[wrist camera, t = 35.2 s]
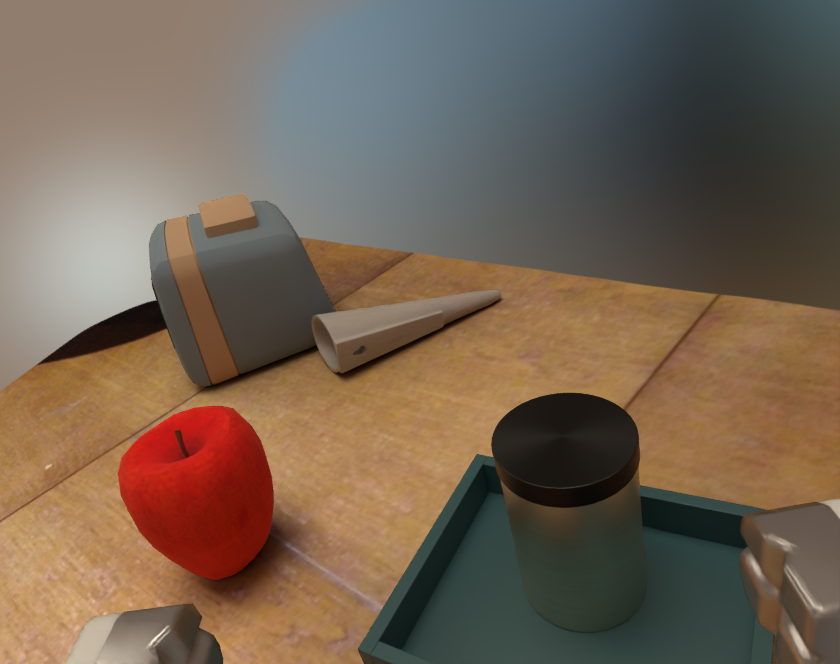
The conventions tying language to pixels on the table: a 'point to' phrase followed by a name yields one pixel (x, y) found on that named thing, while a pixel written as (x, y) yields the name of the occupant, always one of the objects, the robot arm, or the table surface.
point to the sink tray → (546, 642)
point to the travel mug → (574, 507)
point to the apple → (200, 490)
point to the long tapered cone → (388, 326)
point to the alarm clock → (234, 288)
